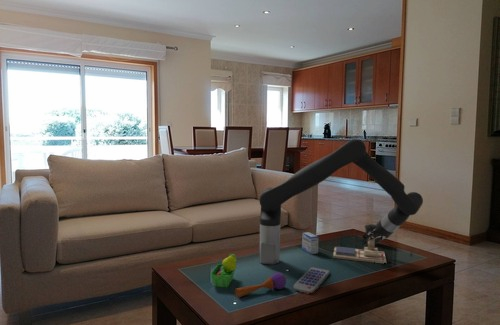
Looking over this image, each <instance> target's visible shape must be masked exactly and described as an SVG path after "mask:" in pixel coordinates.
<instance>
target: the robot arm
mask: <svg viewBox="0 0 500 325" xmlns="http://www.w3.org/2000/svg"><path fill="white" fill-rule="evenodd" d="M352 163H353V164H354V165H355V166H358V167H359V168H360V169H361V170H363V172H364V173H366V174H367V175H368V176H369V177H370V178H371V179H372V180H374V182H375V183H376V184H377V185H378V186H379V187H380V188H382V190H384V191H385V192H386V193H387V194H388V195H389V196H390V197H391V199H392V200H393V202H394V203H395V205H396V206H394V207H393V208H392V209H391V210H390V211H389V212H388V213H387V214H385V215H384V216H383V217H382V218H381V219H380V220H378V222H377V223H376V224H375V225H376V229H374V230H373V231H372V232H371V231H370V230H368V231H367V232H366V231H365V233H364V234H363V235H362V236H361V238H362V240H360V242H361V244H362V245H363V246H365V245H366V244H367V242H368V241H370V240H374V239H375V240H376V242H377V244H378V243H381V241H383V240H385V239H388V238H389V237H391V236H392V235H393V234H394V233H395V232H396V231H397V230H398V229H399V228H400V227H401V226H402V225H403V224H404V223H405V222H406V221H407V220H408V219H409V217H410V216H414V215H416V214H417V213H418V212H419V210H420V209H421V207H422V205H423V202H424V199H423V196H422V195H421V194H420V193H419V192H416V191H412V192H408V193H406V191H405V187H406V186H405V185H404V183H403V182H402V181H401V180H399V179H398V177H396V176H395V175H394V174H393V173H391V172H390V171H389V170H387V169H386V168H385V167H383V166H382V165H380V164H379V163H378V162H377V161H376V160H374V158H372V157H371V156H370V154H369V153H368V151H367V147H366V144H365V142H364V141H362V140H361V139H357V138H353V139H350V140H348V141H346V142H345V143H344V144H343V145H341V146H340V147H338V148H337V149H336V150H334V151H333V152H332V153H329V154H328V155H326V156H323V157H320V158H319V159H317V160H315V161H313V162H311V163H310V164H308V165H306V166H304V167H302V168H300V170H298V171H296V172H295V173H294V174H293V175H291V176H290V177H289V178H288V179H287V180H285V181H283V182H282V183H281V184H279V185H276V186H274V187H267V188H266V189H264V190H263V191H262V192H261V194H260V196H259V205H260V216H259V260H260V261H259V262H260V264H264V265H271V266H272V265H273V266H274V265H275V264H278V263H279V262H280V260H281V259H280V258H281V257H280V255H281V253H280V252H281V218H282V205H283V204H284V203H286V202H288V200H289V199H292V198H293V197H295V196H297V195H300V194H301V193H303V192H304V193H305V192H306V191H308V190H310V189H312V188H313V187H315V186H317V185H318V184H320V183H322V182H324V181H325V180H327V179H328V178H330V177H331V176H332V175H333V174H334V173H336V172H337V171H338V170H340V169H341V168H343V167H345V166H348V165H350V164H352ZM372 235H373V236H374V238H372ZM369 238H370V239H369Z"/></svg>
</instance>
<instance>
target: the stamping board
mask: <svg viewBox="0 0 500 325" xmlns="http://www.w3.org/2000/svg"><path fill="white" fill-rule="evenodd" d="M336 247H337V246H334V248H333V253H332V254H333V255H332V258H333V259H339V260H346V261H347V260H348V261H355V262H358V261H359V262H367V263H374V262H375V263H376V264H384V263H386V264H387V257H386V255H385V251H379V250H378V258H374V257H365V256H364V249H363V248H362V249H359V248H355V256H346V255H336Z"/></svg>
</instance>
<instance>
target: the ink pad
mask: <svg viewBox="0 0 500 325" xmlns="http://www.w3.org/2000/svg"><path fill="white" fill-rule="evenodd" d="M335 247H336V255H346V256H355V249H356V248H355V247H348V246H347V247H345V246H335Z"/></svg>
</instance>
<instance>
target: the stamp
mask: <svg viewBox="0 0 500 325" xmlns="http://www.w3.org/2000/svg"><path fill="white" fill-rule="evenodd" d="M372 238H374V237H372ZM369 239H370V238H369ZM375 246H376V245H375V239H374V240H370V241H368V244H367V246H363V250H364V256H365V257H374V258H378V251H379V249H378V247H375Z"/></svg>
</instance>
